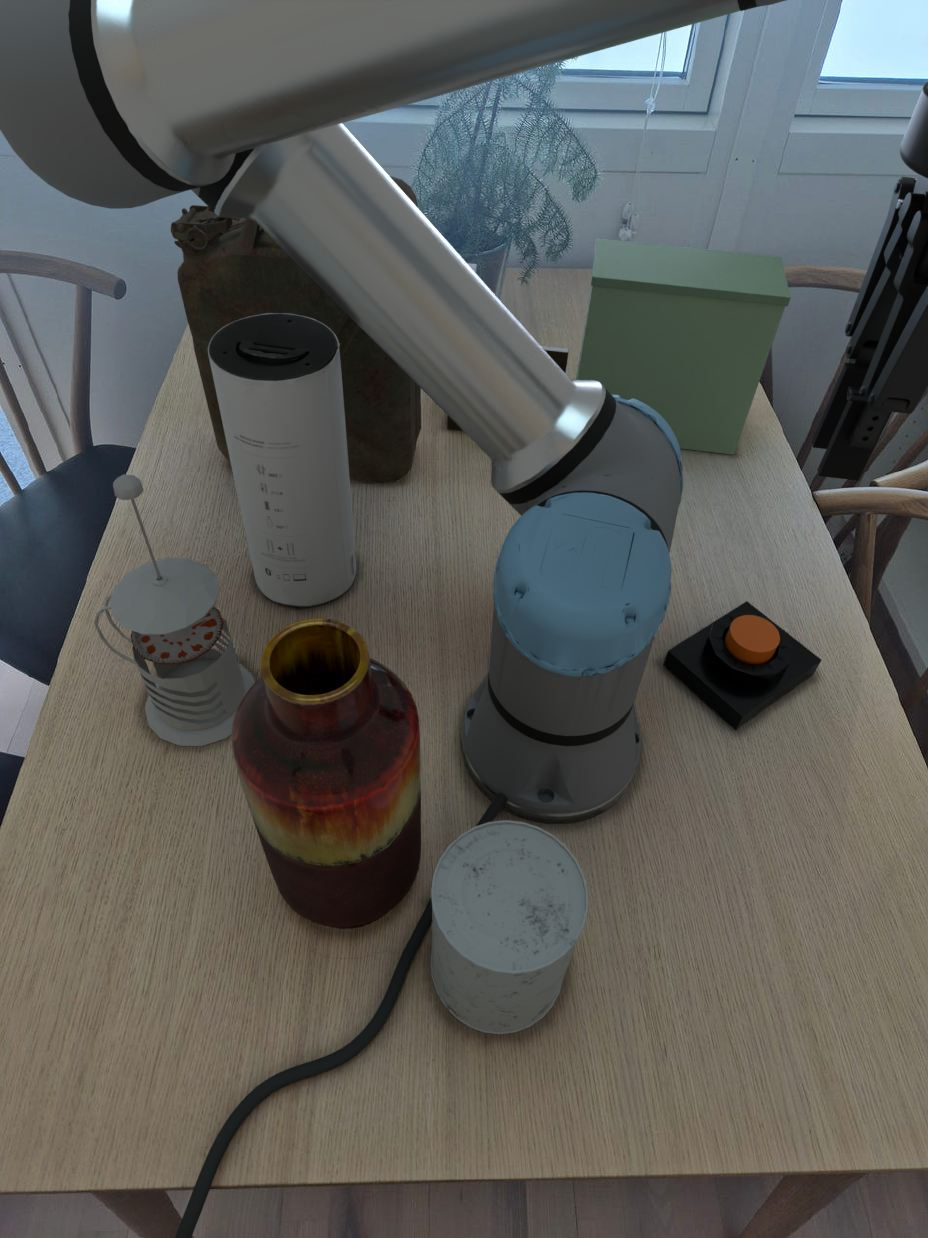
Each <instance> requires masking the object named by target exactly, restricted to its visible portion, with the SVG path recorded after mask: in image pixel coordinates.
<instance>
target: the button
mask: <svg viewBox="0 0 928 1238" xmlns="http://www.w3.org/2000/svg"><path fill="white" fill-rule="evenodd" d="M779 642H780V635H779V632H778V630H777V629H776V627H775V626H774V625H773V624H772V623H771V622H769V621H768V620H766V619H764V618H762V617H759V616H754V615H743V616H740V617H738V618H736V619H735V620H733V622H732V623H731V625H730V628H729V630H728V632H727V635H726V637H725V645H726V648H727V650H728V651H729V652H730V653H731V654H732V655H733V656H734V657H735V658H737V659H738V660H740V661H743V662H746V663H749V664H762V663H765V662H767V661H769V660H770V659H771V658H772V656H773V655H774V653H775V651H776V649H777V647H778V645H779Z"/></svg>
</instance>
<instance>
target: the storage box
mask: <svg viewBox="0 0 928 1238" xmlns="http://www.w3.org/2000/svg"><path fill="white" fill-rule="evenodd" d="M592 260H593V261H592V270H591V280H590V288H589V293H588V301H587V306H586V313H585V320H584V326H583V332H582V339H581V345H580V352H579V360H578V365H577V371H576V378H575V380H596V381H598V382H600V383H601V384H602V385H603V386H604V387H605V388H606V389H607V390H608V391H609V392H610V393H611V395H619V396H620V397H621V398H622V399H625V400H631V399H636V400H638V401H640V402H642V403H644V404H646V405H648V406H649V407H651V408H652V409H654V410H655V411H656V412H657V413H659V414H660V415H661V416H662V417H663V418H664V419H665V421H666V422H667V423H668V424H669V426H670V427H671V429H672V430H673V432H674V434H675V436H676V438H677V441H678V443H679V447H680V450H682V449H683V450H691V451H699V452H706V453H716V454H723V455H732V456H734V455H735V454H736V451H737V448H738V445H739V441H740V439H741V436H742V433H743V430H744V427H745V424H746V421H747V418H748V415H749V413H750V409H751V406H752V404H753V401H754V399H755V396H756V393H757V389H758V387H759V384H760V381H761V379H762V375H763V372H764V370H765V366H766V363H767V360H768V358H769V355H770V351H771V349H772V345H773V343H774V340H775V337H776V334H777V333H778V328H779V325H780V323H781V321H782V317H783V314H784V311H785V308H786V307H789V304H790V301H791V299H792V297H791V292H790V289H789V288H790V287H789V284H788V280H787V276H786V272H785V266H784V263H783V258H782V256H780V255H779V256H778V255H769V254H758V253H750V252H749V253H748V252H739V251H730V250H719V249H710V248H709V249H708V248H698V247H691V246H682V245H681V246H680V245H671V244H660V243H649V242H642V241H641V242H640V241H630V240H620V239H611V238H601V237H596V238H595V243H594V252H593V259H592Z"/></svg>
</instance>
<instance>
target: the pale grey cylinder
mask: <svg viewBox="0 0 928 1238" xmlns="http://www.w3.org/2000/svg"><path fill="white" fill-rule="evenodd" d="M579 863H580V862H579V861H578V859H577V858H576V857H575V855H574V854H573V853H572V852H571V850H570V849H569V848H568V846H567V845H566V844H564V843H563V842H562V841H561V840H560V839H559V838H557V837H556V836H555V835H554V834H552V833H550V832H548V831H547V830H545V829H543V828H541V827H540V826H536V825H534V824H531V823H528V822H525V821H518V820H508V819H507V820H506V819H504V820H494V821H493V822H488V823H485V824H481V825H478V826H476V825H474V826H473V827H471V828H469V829H468V830H466V831H465V832H463V833H461V834H459V835H458V836H457V837H456V838H455V839H454V840H453V841H452V842H451V843H450V844H449V845H447V847H446V848H445V850H444V851H443V853H442V854H441V856H440V858H439V859H438V860H437V864H436V867H435V869H434V872H433V875H432V880H431V881H432V882H431V888H430V898H431V900H432V923H431V953H430V972H431V973H430V974H431V980H432V982H433V985H434V986H433V987H434V989H435V992H436V994H437V996H438V998H439V999H440V1001H441V1002H442V1004H443V1006H444V1008H445V1009H447V1011H449V1013H450V1014H451V1015H453V1017H454V1018H455V1019H457V1020H458V1021H459V1022H460V1023H462V1024H463V1025H465V1026H467V1027H468V1028H470V1029H473V1030H475V1031H478V1032H481V1033H484V1034H493V1035H499V1036H500V1035H507V1034H515V1033H518V1032H521V1031H523V1030H526V1029H528V1028H530V1027H532V1026H533V1025H535V1024H536V1023H538V1022H539V1021H540V1020H542V1019H544V1017H545V1016H546V1015H547V1013H548V1012H549V1011H550V1010H551V1009H552V1008H553V1006H554V1005H555V1003H556V1001H557V998H558V997H559V994H560V993H561V989H562V984H563V981H564V978H565V975H566V972H567V969H568V967H569V964H570V962H571V958H572V956H573V953H574V951H575V948H576V945H577V943H578V940H579V938H580V936H581V934H582V932H583V930H584V928H585V925H586V920H587V918H588V917H587V916H588V913H589V889H588V884H587V881H586V877H585V874H584V872H583V870H582V867H581V865H580V864H579Z"/></svg>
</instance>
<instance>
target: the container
mask: <svg viewBox="0 0 928 1238" xmlns="http://www.w3.org/2000/svg"><path fill="white" fill-rule="evenodd" d="M389 177H390V178H391V179H392V180H393V181H394V182H395V183H396V184H397V185H398V187H399V188H400V189H401V190H402V191H403V192H404V193H405V194H406V196H407V197H408V198H409V199H410V200H411V201H412V202H413V203H414V205H415V206H416V207H417V208H418V209H419V204H418V203H419V202H418V199H417V195H416V193H415V192H414V190H413V189H412V187H411V185H410V184H408V183H407V182H406V181H404V180H403V179H401V178H398V177H395V176H391V175H389ZM170 233H171V236H172V238H173V239H175V240H174V244H175V246H176V247H178V248H179V249H181V252H182V259H183V261H182V262H181V264H180V265H179V267H178V268H177V273H176V274H177V283H178V287H179V291H180V295H181V299H182V303H183V307H184V312H185V316H186V321H187V324H188V328H189V331H190V334H191V338H192V344H193V350H194V355H195V359H196V363H197V367H198V372H199V375H200V379H201V384H202V387H203V392H204V395H205V400H206V404H207V408H208V413H209V418H210V421H211V425H212V429H213V433H214V437H215V441H216V446H217V448H218V450H219V451H220V453H221V454H222V456H223V458H224V459H225V460H226V461H227V462H228V464H230V465H231V462H230V457H229V452H228V447H227V442H226V437H225V432H224V428H223V423H222V418H221V413H220V408H219V403H218V398H217V394H216V389H215V384H214V379H213V374H212V370H211V365H210V360H209V355H208V346H209V343H210V340H211V339H212V337H213V336H214V335H215V334H216V333H217V332H218V331H219V330H220V329H221V328H222V327H224V326H226V325H227V324H230V323H232V322H234V321H236V320H239V319H242V318H246V317H249V316H255V315H260V314H266V313H285V314H295V315H300V316H305V317H309V318H313V319H315V320H317V321H319V322H321V323H323V324H324V325H326V326H327V327H329V328H330V329H331V330H332V331H333V333H334V334H335V335H336V337H337V338H338V341H339V343H340V345H339V351H340V363H341V374H342V387H343V399H344V412H345V425H346V438H347V451H348V464H349V477H350V480H352V481H353V480H354V481H360V482H365V483H375V484H388V483H389V484H390V483H396V482H398V481H401V480H402V479H404V478H405V477H406V476H407V475H409V473H410V471H412V467H413V463H414V457H415V454H416V448H417V442H418V440H419V436H420V433H421V430H422V397H421V396H422V393H421V390H422V389H421V388H420V387H419V386H418V385H417V384H416V383H415V382H414V381H413V380H412V379H411V378H410V377H409V376H408V375H407V374H406V373H405V372H404V371H403V370H402V369H401V368H400V367H399V366H398V365H397V364H396V363H395V362H394V361H393V360H392V359H391V358H390V357H389V356H388V355H387V354H386V353H385V352H384V351H383V349H382V348H381V347H380V346H379V345H378V344H377V343H376V342H375V341H374V340H373V339H372V338H371V337H370V336H369V335H368V334H367V333H366V332H365V331H364V330H363V329H362V328H361V327H360V326H359V325H358V324H357V323H356V322H355V321H354V320H353V319H352V318H351V317H350V316H349V315H348V314H347V313H346V312H345V311H344V310H343V309H342V308H341V307H340V306H339V305H338V304H337V303H336V302H335V301H334V300H333V299H332V298H331V297H330V296H329V295H328V294H327V293H326V292H325V291H324V290H323V289H322V288H321V287H320V286H319V285H318V284H317V283H316V282H315V281H314V280H313V279H312V278H311V277H310V276H309V275H308V274H307V273H306V272H305V271H304V270H303V269H302V268H301V267H300V266H299V265H298V264H297V263H296V262H295V261H294V260H293V259H292V258H291V257H290V256H289V255H288V254H287V253H286V252H285V251H284V250H283V249H282V248H281V247H280V246H279V245H278V244H277V243H276V242H275V241H274V240H273V239H272V238H271V237H270V236H269V235H268V234H267V233H266V232H265V231H264V230H263V229H262V228H261V227H260V226H259V225H258V224H257V223H256V222H255V221H253V220H250V219H247V218H225V217H219V216H217V215H216V214H215V213H214V212H213V211H212V210H211V209H210V208H209V207H208V206H207V205H197V204H196V205H195V204H193V205H190V207H189V210H188V209H186V208H185V207H183V208H182V209H181V216H180V217H179V219H177V220H175V221H172V222H171V224H170Z"/></svg>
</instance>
